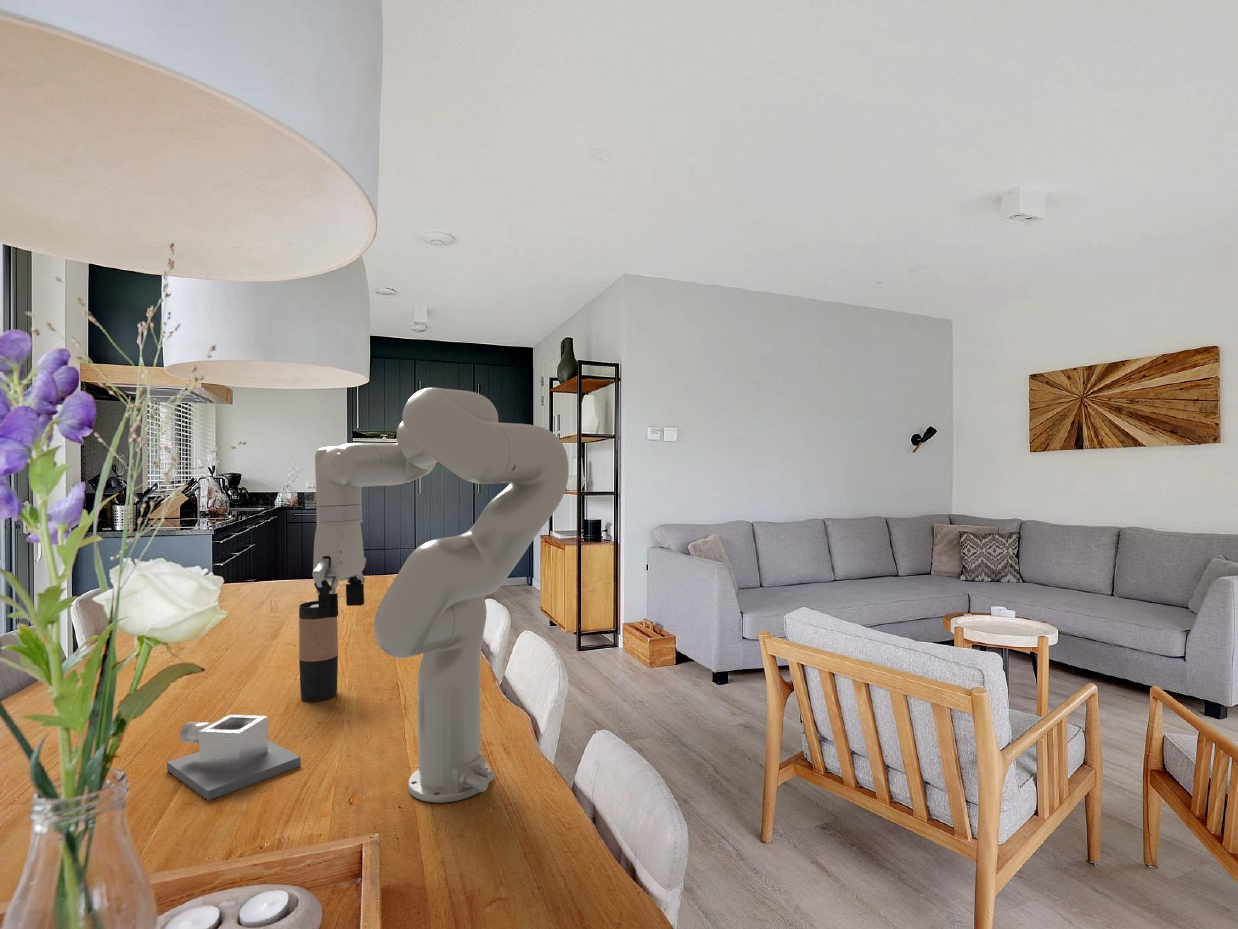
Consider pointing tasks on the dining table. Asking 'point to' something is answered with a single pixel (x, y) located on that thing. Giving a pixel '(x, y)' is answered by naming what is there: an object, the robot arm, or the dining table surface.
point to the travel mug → (317, 654)
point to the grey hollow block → (228, 741)
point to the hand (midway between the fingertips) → (342, 611)
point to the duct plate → (232, 772)
